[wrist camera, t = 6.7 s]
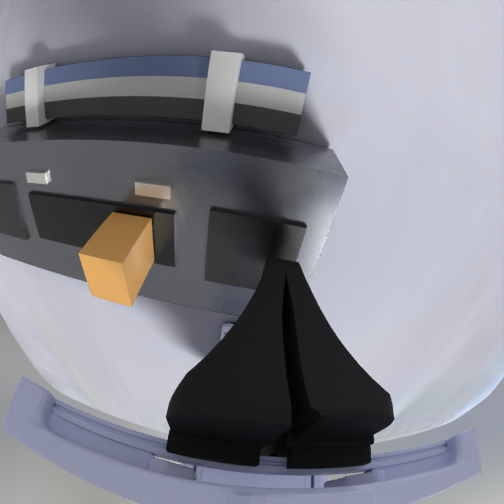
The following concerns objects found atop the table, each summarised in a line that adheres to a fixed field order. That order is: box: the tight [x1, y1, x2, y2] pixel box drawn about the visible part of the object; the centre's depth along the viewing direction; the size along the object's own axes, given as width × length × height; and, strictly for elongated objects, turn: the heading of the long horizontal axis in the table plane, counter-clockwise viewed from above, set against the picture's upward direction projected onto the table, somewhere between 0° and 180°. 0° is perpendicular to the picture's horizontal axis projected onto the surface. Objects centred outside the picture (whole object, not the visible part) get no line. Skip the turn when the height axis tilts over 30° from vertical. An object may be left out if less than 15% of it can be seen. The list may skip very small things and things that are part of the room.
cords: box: [6, 50, 311, 136], centre depth 11 cm, size 4×18×2 cm, turn 81°
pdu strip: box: [0, 120, 348, 316], centre depth 14 cm, size 9×22×4 cm, turn 81°
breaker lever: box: [79, 212, 154, 307], centre depth 11 cm, size 2×2×3 cm
